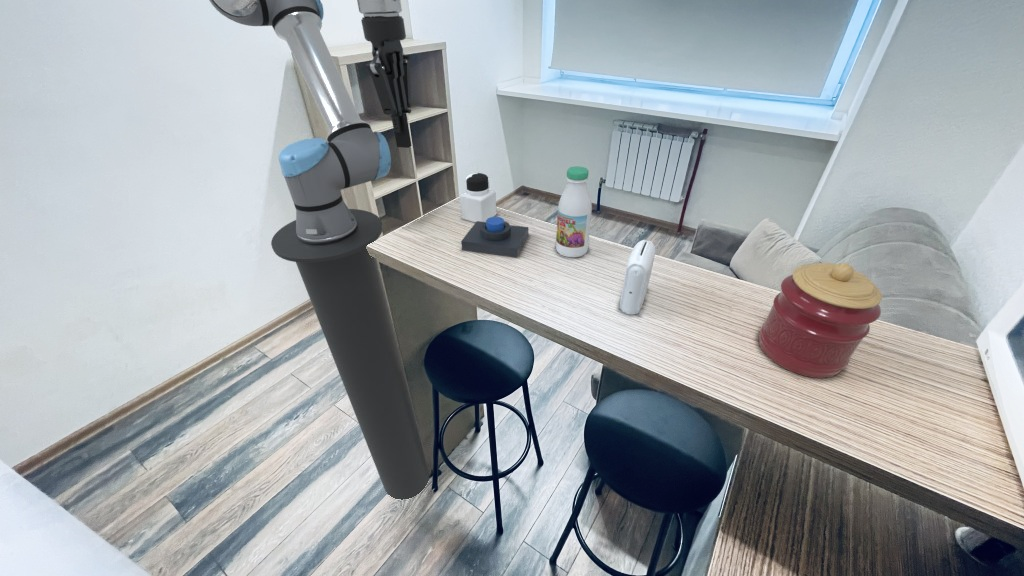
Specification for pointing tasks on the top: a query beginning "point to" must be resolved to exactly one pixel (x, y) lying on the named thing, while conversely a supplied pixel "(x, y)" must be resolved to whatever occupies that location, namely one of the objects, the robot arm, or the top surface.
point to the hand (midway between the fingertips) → (404, 146)
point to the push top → (495, 224)
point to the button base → (495, 239)
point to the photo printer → (637, 277)
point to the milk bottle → (574, 215)
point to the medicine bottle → (478, 199)
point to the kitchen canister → (820, 318)
